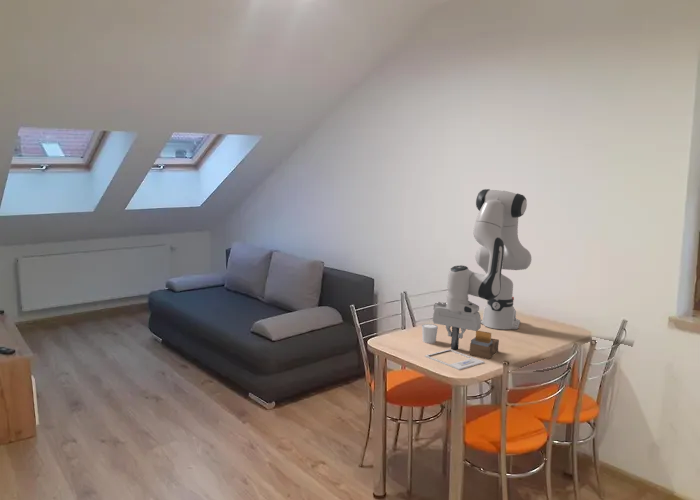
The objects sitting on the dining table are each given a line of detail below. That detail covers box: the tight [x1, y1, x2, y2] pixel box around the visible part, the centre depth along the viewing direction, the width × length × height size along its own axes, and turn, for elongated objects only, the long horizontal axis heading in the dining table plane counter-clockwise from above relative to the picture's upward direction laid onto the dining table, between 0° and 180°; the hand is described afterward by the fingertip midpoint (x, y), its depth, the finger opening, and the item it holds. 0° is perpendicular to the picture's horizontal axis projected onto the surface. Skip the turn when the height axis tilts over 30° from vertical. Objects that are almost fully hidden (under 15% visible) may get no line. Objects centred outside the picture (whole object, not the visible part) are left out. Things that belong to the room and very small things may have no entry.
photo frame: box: [424, 348, 485, 371], centre depth 219 cm, size 15×1×18 cm
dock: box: [469, 337, 500, 360], centre depth 227 cm, size 12×8×5 cm, turn 148°
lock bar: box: [470, 330, 492, 347], centre depth 223 cm, size 5×7×4 cm
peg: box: [450, 327, 460, 351], centre depth 231 cm, size 3×3×10 cm
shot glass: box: [421, 323, 438, 344], centre depth 241 cm, size 7×7×7 cm
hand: (455, 337), depth 231 cm, fingers closed on peg, 3 cm apart
